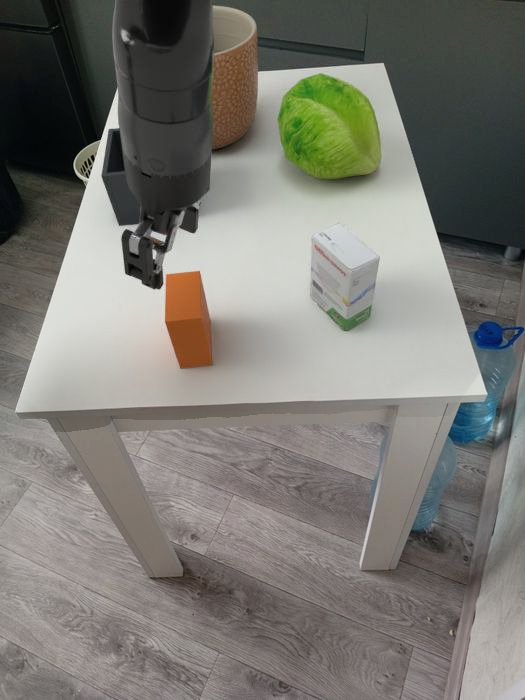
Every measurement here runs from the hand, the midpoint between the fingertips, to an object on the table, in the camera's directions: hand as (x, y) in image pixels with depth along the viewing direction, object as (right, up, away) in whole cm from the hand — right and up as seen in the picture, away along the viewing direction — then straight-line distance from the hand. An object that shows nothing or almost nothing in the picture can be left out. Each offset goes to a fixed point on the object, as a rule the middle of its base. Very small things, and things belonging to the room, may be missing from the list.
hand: (170, 255), depth 57 cm
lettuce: (+22, +23, +37) cm, 49 cm away
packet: (+1, -10, +15) cm, 17 cm away
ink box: (+21, -4, +17) cm, 28 cm away
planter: (0, +33, +46) cm, 57 cm away
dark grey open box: (-8, +17, +35) cm, 39 cm away
